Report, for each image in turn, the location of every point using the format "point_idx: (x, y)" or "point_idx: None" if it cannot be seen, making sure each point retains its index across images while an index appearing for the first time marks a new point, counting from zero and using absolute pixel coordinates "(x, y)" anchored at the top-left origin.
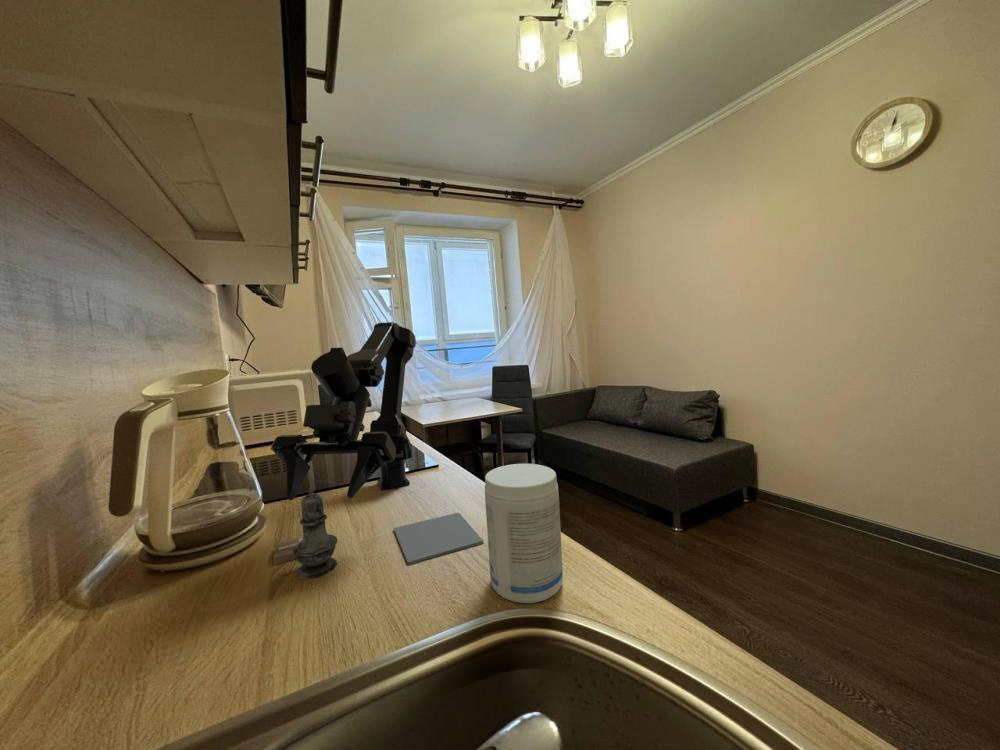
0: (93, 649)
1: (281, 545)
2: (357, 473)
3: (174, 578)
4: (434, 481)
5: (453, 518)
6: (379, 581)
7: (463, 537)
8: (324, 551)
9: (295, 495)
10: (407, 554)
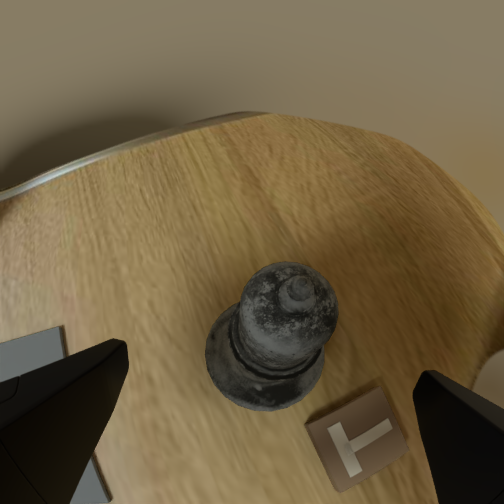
0: (451, 211)
1: (392, 440)
2: (27, 379)
3: (498, 340)
4: None
5: None
6: (110, 285)
7: None
8: (224, 311)
9: (417, 416)
10: (58, 357)
